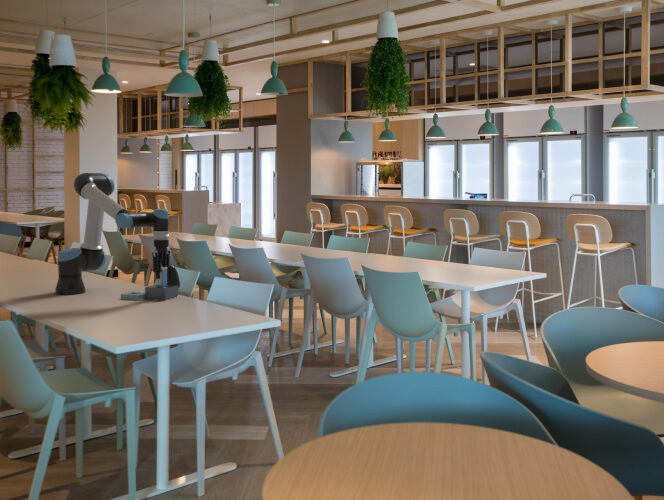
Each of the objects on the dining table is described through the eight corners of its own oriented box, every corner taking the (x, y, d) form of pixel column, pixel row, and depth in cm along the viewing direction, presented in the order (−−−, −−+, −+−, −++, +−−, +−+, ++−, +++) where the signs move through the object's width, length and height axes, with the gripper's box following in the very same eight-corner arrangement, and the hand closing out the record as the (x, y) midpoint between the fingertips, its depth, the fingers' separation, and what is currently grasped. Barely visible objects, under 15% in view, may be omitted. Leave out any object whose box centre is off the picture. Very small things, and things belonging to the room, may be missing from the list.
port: (145, 298, 353) (144, 286, 353) (158, 295, 365) (158, 283, 364) (165, 300, 349) (165, 287, 349) (178, 296, 361) (178, 284, 360)
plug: (155, 295, 356) (155, 267, 354) (160, 294, 359) (160, 266, 358) (163, 295, 354) (162, 268, 353) (167, 294, 358) (167, 267, 357)
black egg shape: (183, 292, 377) (182, 264, 376) (176, 295, 367) (176, 266, 365) (164, 291, 378) (164, 264, 377) (158, 294, 368) (158, 266, 366)
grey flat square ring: (120, 298, 352) (120, 294, 352) (132, 296, 361) (132, 291, 361) (137, 300, 349) (137, 295, 349) (149, 297, 358) (148, 292, 358)
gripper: (158, 240, 345) (158, 286, 347) (176, 238, 361) (176, 282, 363) (145, 240, 347) (145, 286, 349) (164, 237, 363) (164, 281, 366)
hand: (161, 284), depth 356 cm, fingers closed on plug, 4 cm apart
